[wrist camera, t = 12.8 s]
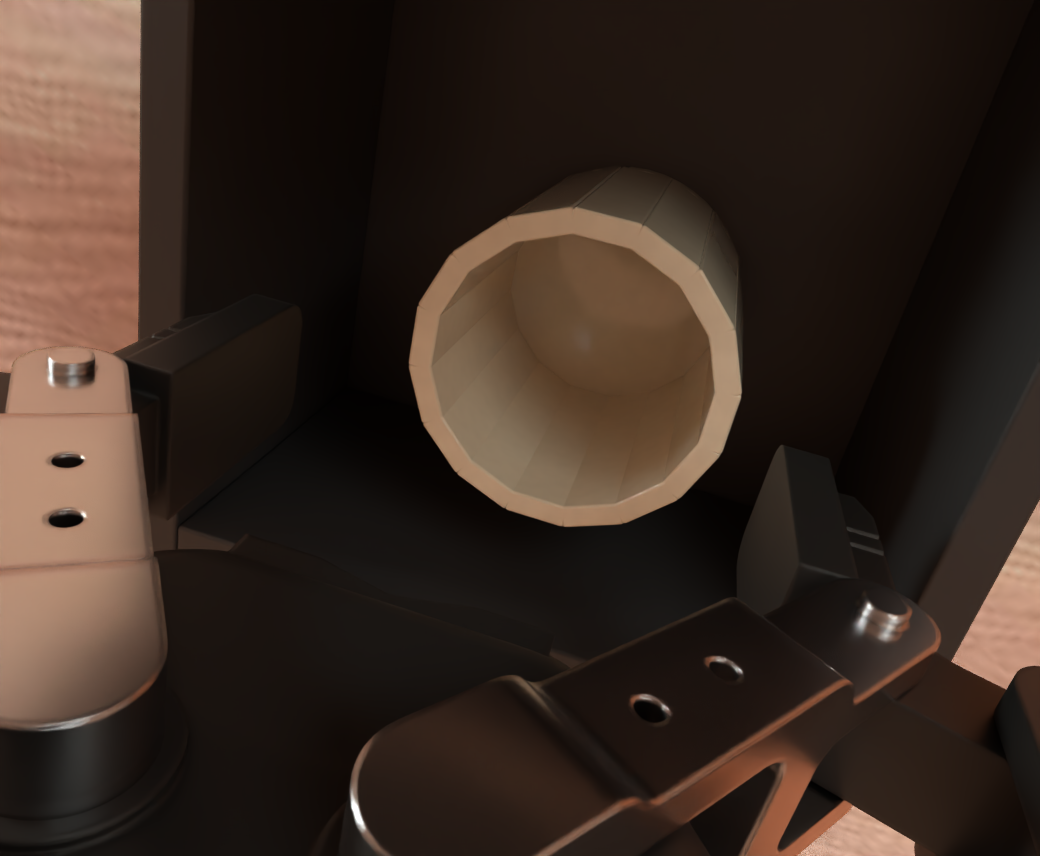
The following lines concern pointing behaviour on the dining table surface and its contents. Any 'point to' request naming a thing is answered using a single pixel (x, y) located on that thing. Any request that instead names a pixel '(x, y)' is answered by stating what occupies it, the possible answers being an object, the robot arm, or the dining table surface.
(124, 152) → the dining table surface
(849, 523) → the robot arm
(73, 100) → the dining table surface
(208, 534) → the tapered storage bin
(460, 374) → the creamer cup
